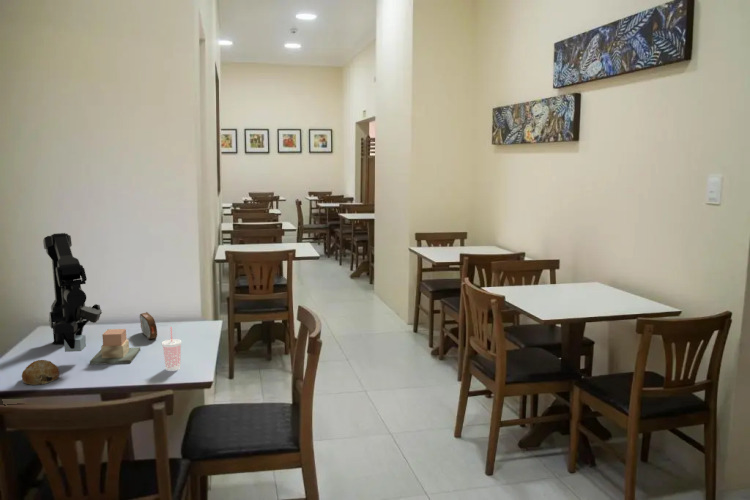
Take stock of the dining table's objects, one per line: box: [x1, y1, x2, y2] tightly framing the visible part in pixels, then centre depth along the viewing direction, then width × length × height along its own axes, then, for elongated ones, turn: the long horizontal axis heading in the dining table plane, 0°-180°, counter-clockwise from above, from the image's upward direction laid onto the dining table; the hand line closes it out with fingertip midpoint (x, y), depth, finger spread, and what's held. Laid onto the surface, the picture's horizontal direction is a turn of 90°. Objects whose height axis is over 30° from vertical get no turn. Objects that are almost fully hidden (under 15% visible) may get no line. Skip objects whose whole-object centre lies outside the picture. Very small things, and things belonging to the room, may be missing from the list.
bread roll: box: [21, 359, 60, 386], centre depth 191 cm, size 10×10×8 cm
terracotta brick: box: [101, 328, 128, 346], centre depth 210 cm, size 6×6×4 cm
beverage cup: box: [161, 326, 182, 372], centre depth 200 cm, size 6×6×14 cm
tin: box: [139, 311, 158, 340], centre depth 234 cm, size 15×3×8 cm, turn 34°
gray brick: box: [63, 334, 87, 353], centre depth 205 cm, size 5×5×4 cm
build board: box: [89, 339, 141, 365], centre depth 211 cm, size 13×13×5 cm
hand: (75, 345), depth 205 cm, fingers closed on gray brick, 5 cm apart
